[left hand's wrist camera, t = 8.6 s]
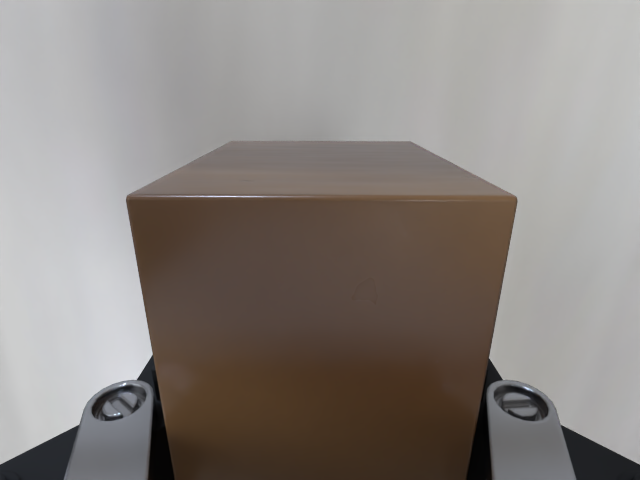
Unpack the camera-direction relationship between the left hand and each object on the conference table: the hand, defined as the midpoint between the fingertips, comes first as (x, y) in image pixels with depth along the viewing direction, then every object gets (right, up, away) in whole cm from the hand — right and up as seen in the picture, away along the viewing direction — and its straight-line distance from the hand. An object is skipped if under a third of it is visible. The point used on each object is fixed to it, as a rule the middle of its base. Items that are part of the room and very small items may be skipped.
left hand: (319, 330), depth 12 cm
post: (0, -22, +10) cm, 24 cm away
